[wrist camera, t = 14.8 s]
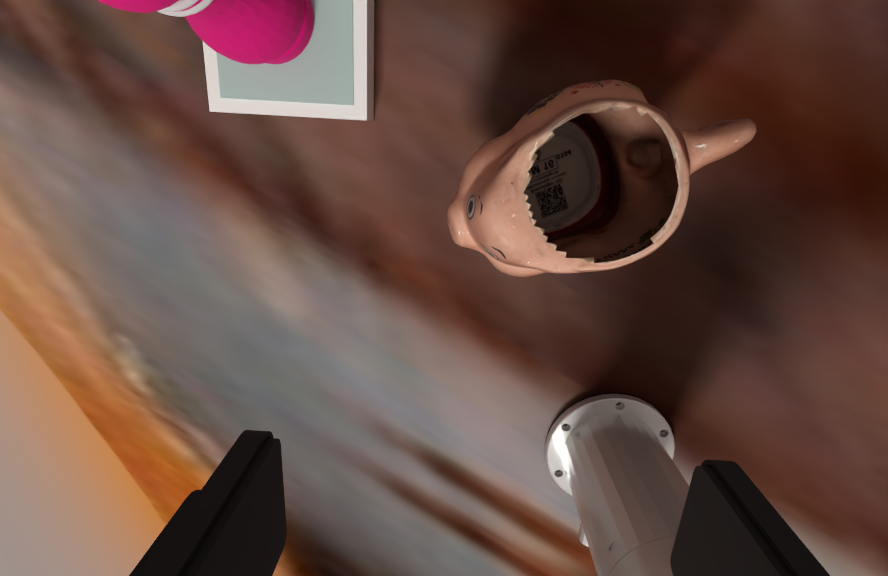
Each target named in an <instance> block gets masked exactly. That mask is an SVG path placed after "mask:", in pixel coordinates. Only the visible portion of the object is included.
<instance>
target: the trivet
mask: <svg viewBox="0 0 888 576" xmlns="http://www.w3.org/2000/svg"><path fill="white" fill-rule="evenodd" d="M311 4H312V8H313V14H314V25H313V32H312V36H311V39H310V41H309V43H308V45H307V46H306V48H305V49H304V50H303V52H302V53H301V54H300V55H298V56H297V57H296V58H294V59H293V60H291V61H289V62H286V63H283V64H267V63H263V64H244V63H239V62H236V61H233V60H231V59H229V58H227V57H225V56H223V55H221V54H219V53H217V52H216V51H214V50H213V49H212V48H210V47H209V46H208V45H207V44H206V43H205V42H204V41H203V49H204V59H205V69H206V79H207V89H208V99H209V109H210V111H211V112H226V113H244V114H261V115H279V116H296V117H314V118H331V119H349V120H366V121H374V0H311Z"/></svg>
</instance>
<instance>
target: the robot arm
mask: <svg viewBox="0 0 888 576" xmlns="http://www.w3.org/2000/svg"><path fill="white" fill-rule="evenodd" d="M674 449H675V445H674V436H673V434H672V431H671V428H670V426H669V425H668V423H667V421H666V420H665V418H664V417H663V416H662V415H661V413H660V412H659V411H658V410H657V409H656V408H654V407H653V406H652V405H651V404H649V403H647V402H645V401H643V400H641V399H639V398H636V397H633V396H629V395H623V394H603V395H598V396H594V397H590V398H587V399H585V400H582V401H580V402H578V403H576V404H575V405H573V406H571V407H570V408H568V409H567V410H566V411H565V412H564V413H563V414H561V415H560V416H559V418H558V419H557V420H556V421H555V423H554V424H553V425H552V427H551V429H550V431H549V433H548V436H547V440H546V444H545V456H546V461H547V465H548V468H549V472H550V474H551V476H552V477H553V479H554V481H555V482H556V483H557V484H558V485H559V486H560V487H561V489H563V490H564V491H565V492H567V493H568V494H570V495H571V496H573V497H574V501H575V504H576V507H577V510H578V513H579V517H580V520H581V525H580V531H579V536H578V537H579V540H580V542H581V543H582V544H584V545H586V546H589V549H590V552H591V555H592V558H593V562H594V565H595V568H596V571H597V575H598V576H830V575H829V574H828V573H827V571H826V570H825V569H824V568H823V567H822V565H821V564H820V563H819V562H818V560H817V559H816V558H815V557H814V556H813V554H812V553H811V552H810V551H809V550H808V548H807V547H806V546H805V545H804V544H803V542H802V541H801V540H800V539H799V538H798V536H797V535H796V534H795V533H794V532H793V530H792V529H791V528H790V527H789V526H788V524H787V523H786V522H785V521H784V520H783V518H782V517H781V516H780V515H779V513H778V512H777V511H776V510H775V509H774V507H773V506H772V505H771V504H770V503H769V501H768V500H767V499H766V498H765V497H764V495H763V494H762V493H761V492H760V491H759V489H758V488H757V487H756V486H755V485H754V483H753V482H752V481H751V480H750V479H749V477H748V476H747V475H746V474H745V473H744V471H743V470H742V469H741V468H740V466H739V465H738V464H736V463H735V462H733V461H721V460H705V461H704V462H703V463H702V465H701V466H697V467H696V468H695V470H694V472H693V476H692V480H691V483H690V487H689V485H688V484H687V482H686V481H685V479H684V478H683V476H682V475H681V473H680V471H679V470H678V468H677V467H676V465H675V464H674V462H673V461H672V460H673V456H674ZM285 541H286V515H285V500H284V486H283V471H282V457H281V443H280V440H279V439H273V435H272V433H271V432H269V431H253V430H245V431H243V433H242V434H241V435H240V436H239V438H238V439H237V441H236V442H235V443H234V445H233V446H232V448H231V449H230V450H229V452H228V453H227V455H226V456H225V457H224V459H223V460H222V462H221V463H220V464H219V466H218V467H217V469H216V470H215V471H214V473H213V474H212V476H211V477H210V479H209V480H208V481H207V483H206V484H205V486H204V487H203V488H202V490H195V491H193V492H191V494H190V495H189V496H188V497H187V498H186V499H185V501H184V502H183V503H182V505H181V506H180V507H179V509H178V510H177V511H176V513H175V514H174V516H173V517H172V518H171V520H170V521H169V522H168V524H167V525H166V526H165V528H164V529H163V531H162V532H161V533H160V535H159V536H158V537H157V539H156V540H155V541H154V543H153V544H152V545H151V547H150V548H149V550H148V551H147V552H146V554H145V555H144V556H143V558H142V559H141V560H140V562H139V563H138V565H137V566H136V567H135V569H134V570H133V571H132V573H131V574H130V575H129V576H272V575H273V572H274V570H275V568H276V565H277V563H278V560H279V558H280V556H281V553H282V551H283V548H284V545H285Z"/></svg>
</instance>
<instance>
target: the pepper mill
mask: <svg viewBox="0 0 888 576" xmlns="http://www.w3.org/2000/svg"><path fill="white" fill-rule="evenodd" d="M97 1H99V2H102V3H104V4H106V5H109V6H111V7H114V8H117V9H121V10H126V11H130V12H139V13H148V12H154V11H158V12H160V13H163V14H166V15H170V16H178V17H182V16H185V18H186V20H187V21H188V23H189V24H190V26H191V28H192V29H193V31H194V32H195V33H196V34H197V35H198V36H199V37H200V38H201V40H203V41H204V42H205V43H206V44H207V45H208V46H209V47H210V48H212V49H213V50H214V51H216V52H217V53H219V54H221V55H223V56H225V57H227V58H229V59H231V60H233V61H236V62H239V63H244V64H263V63H267V64H283V63H286V62H289V61H291V60H293V59H294V58H296V57H297V56H298V55H300V54H301V53H302V52H303V50H304V49H305V48H306V46H307V45H308V43H309V41H310V39H311V36H312V32H313V25H314V14H313V8H312V4H311V0H97Z"/></svg>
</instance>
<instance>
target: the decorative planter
mask: <svg viewBox="0 0 888 576" xmlns="http://www.w3.org/2000/svg"><path fill="white" fill-rule="evenodd" d="M755 133H756V125H755V123H754V122H753V121H752V120H751V119H750V118H743V119H735V120H733V119H731V120H725V121H716V122H713V123H710V124H708V125H705V126H703V127H701V128H700V129H699V130H698V131H685V130H680V129H677V128H675V126H674V125H673V123H672V121H671V119H670V117H669V115H668V114H667V113H665V112H664V111H663V110H661V109H659V108H657V107H655V106H653V105H651V104H649V103H648V102H647V100H646V99H645V97H644V95H643V93H642V91H641V90H640V89H639V88H638V87H637V86H635V85H633V84H631V83H628V82H624V81H620V80H601V81H591V82H584V83H580V84H576V85H573V86H569V87H566V88H564V89H562V90H560V91H558V92H556V93H554V94H552V95H550V96H548V97H546V98H544V99H543V100H541V101H540V102H538V103H537V104H535V105H534V106H533V107H532V108H531V109H529V110H528V111H527V112H526V113H525V114H524V115H523V116H522V118H521V119H520V120H519V121H518V123H517V124H516V125H515V126H514V127H513V128H512V129H511V130H509V131H508V132H507V133H505V134H503V135H501V136H499V137H496V138H494V139H491V140H489V141H487V142H485V143H484V144H483V145H482V146H481V147H480V148H479V149H478V151H477V152H476V153H475V154H474V155H473V156H472V157H471V158H470V159H469V160H468V161H467V163H466V166H465V169H464V172H463V175H462V179H461V183H460V186H459V189H458V191H457V193H456V195H455V197H454V198H453V200H452V202H451V203H450V205H449V208H448V212H447V218H448V226H449V229H450V233H451V236H452V238H453V240H454V242H455V243H456V244H458V245H459V246H462V247H466V248H470V249H474V250H477V251H479V252H481V253H483V254H484V255H485V256H486V257H487V258H488V259H489V260H490V262H491V263H492V264H493V265H494V266H495V267H496V268H497V269H498V270H500V271H501V272H503V273H506V274H509V275H512V276H518V277H528V276H533V275H538V274H542V273H546V272H549V273H581V272H595V271H603V270H611V269H615V268H619V267H622V266H625V265H628V264H630V263H633V262H635V261H637V260H640V259H642V258H644V257H646V256H648V255H649V254H651V253H652V252H654V251H655V250H657V249H658V248H659V247H660V246H661V245H662V244H664V243H665V242H666V241H667V240H668V239H669V238H670V236H671V235H672V234H673V233H674V232H675V231H676V229H677V228H678V226H679V224H680V222H681V220H682V218H683V215H684V212H685V209H686V205H687V201H688V197H689V188H690V175H691V174H692V173H693V172H695V171H696V170H698V169H700V168H702V167H704V166H705V165H707V164H709V163H711V162H714V161H717V160H719V159H722V158H724V157H726V156H728V155H730V154H732V153H734V152H736V151H737V150H739V149H740V148H742V147H743V146H744V145H746V144H747V143H748V142H750V141H751V140H752V139H753V137H754V135H755Z"/></svg>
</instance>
